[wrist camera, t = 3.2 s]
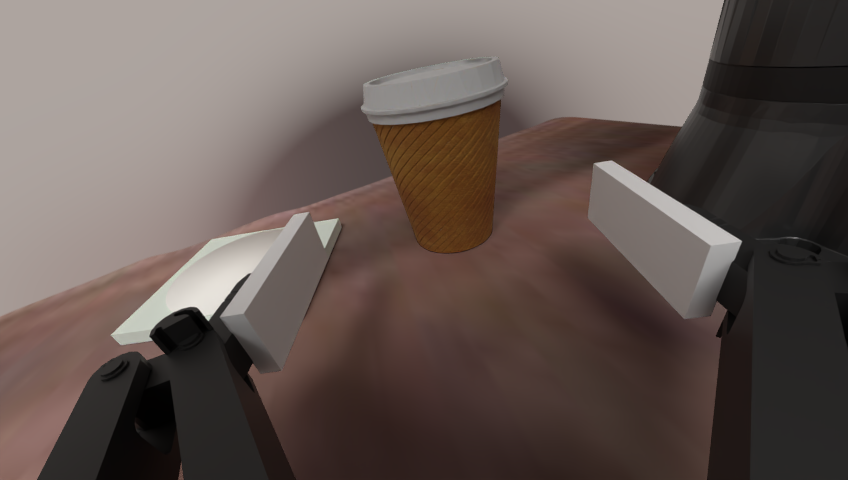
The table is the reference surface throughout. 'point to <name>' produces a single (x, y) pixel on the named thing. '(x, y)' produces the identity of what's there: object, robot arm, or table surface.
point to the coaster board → (210, 278)
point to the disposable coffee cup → (442, 146)
